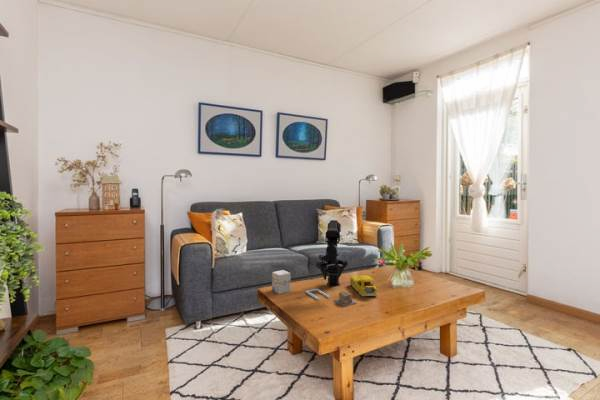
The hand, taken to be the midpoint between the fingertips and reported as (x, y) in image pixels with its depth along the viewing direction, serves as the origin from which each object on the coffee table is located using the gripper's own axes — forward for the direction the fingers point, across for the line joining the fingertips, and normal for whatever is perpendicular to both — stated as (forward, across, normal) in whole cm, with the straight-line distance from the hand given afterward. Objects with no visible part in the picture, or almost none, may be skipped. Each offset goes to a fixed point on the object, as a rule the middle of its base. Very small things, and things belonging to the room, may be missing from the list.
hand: (331, 278), depth 183 cm
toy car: (+12, -25, -2) cm, 28 cm away
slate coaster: (+12, -4, +8) cm, 15 cm away
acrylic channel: (+12, +4, -9) cm, 15 cm away
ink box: (+12, +20, -25) cm, 35 cm away
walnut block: (+11, -4, +8) cm, 14 cm away
